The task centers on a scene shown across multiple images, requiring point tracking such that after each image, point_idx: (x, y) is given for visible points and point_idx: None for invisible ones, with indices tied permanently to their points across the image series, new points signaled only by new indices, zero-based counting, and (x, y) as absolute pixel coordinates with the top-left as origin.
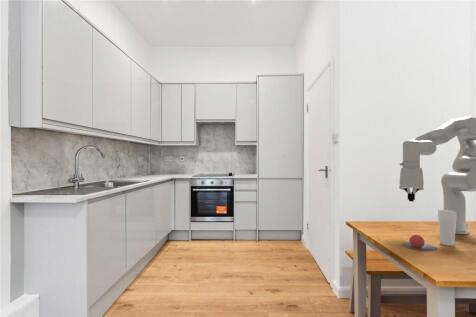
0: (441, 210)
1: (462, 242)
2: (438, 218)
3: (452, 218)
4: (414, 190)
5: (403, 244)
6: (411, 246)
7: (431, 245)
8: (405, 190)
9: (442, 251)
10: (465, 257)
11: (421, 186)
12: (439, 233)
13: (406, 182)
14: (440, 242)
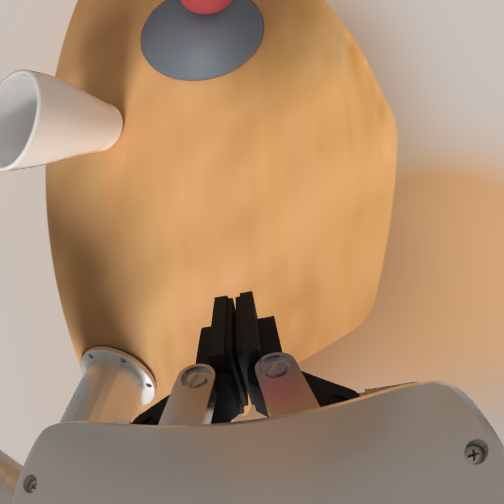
0: (26, 146)
1: (65, 213)
2: (70, 96)
3: (18, 90)
4: (190, 403)
5: (257, 16)
6: (228, 5)
7: (155, 61)
8: (331, 388)
9: (130, 17)
10: (85, 6)
11: (54, 429)
12: (107, 118)
13: (391, 496)
14: (120, 115)
